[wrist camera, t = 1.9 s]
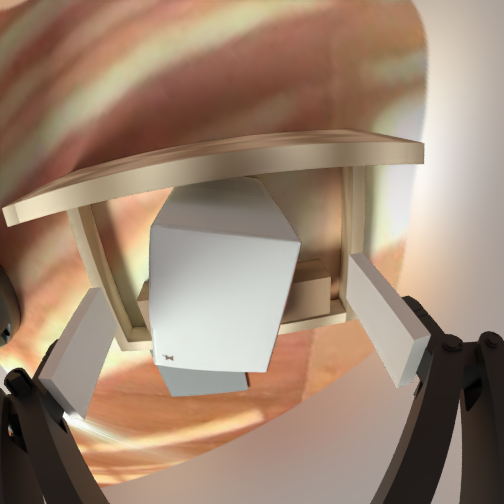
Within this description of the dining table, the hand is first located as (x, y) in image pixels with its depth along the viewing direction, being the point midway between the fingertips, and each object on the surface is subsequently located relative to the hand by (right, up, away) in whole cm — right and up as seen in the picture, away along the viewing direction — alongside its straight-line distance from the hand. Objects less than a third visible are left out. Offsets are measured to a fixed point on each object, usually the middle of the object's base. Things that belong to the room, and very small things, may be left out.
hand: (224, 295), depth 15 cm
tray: (-1, +3, +11) cm, 11 cm away
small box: (-2, +5, +10) cm, 11 cm away
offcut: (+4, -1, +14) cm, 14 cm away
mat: (-5, -11, +17) cm, 21 cm away
